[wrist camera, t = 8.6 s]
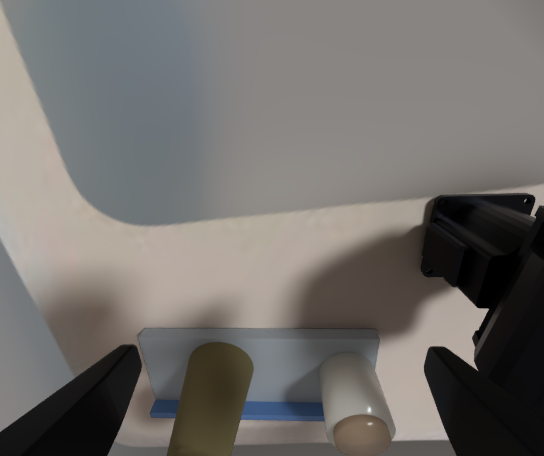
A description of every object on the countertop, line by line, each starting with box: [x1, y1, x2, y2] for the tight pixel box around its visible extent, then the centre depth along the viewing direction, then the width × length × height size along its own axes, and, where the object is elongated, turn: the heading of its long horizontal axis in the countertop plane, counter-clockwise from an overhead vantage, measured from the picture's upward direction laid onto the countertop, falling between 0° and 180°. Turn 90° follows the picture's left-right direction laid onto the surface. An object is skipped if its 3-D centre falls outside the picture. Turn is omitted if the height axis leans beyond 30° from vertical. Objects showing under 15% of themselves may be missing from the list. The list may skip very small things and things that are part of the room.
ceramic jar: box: [319, 352, 396, 456], centre depth 22 cm, size 5×5×6 cm
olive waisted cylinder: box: [167, 342, 254, 456], centre depth 20 cm, size 6×6×11 cm
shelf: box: [138, 328, 380, 421], centre depth 25 cm, size 21×9×2 cm, turn 92°
